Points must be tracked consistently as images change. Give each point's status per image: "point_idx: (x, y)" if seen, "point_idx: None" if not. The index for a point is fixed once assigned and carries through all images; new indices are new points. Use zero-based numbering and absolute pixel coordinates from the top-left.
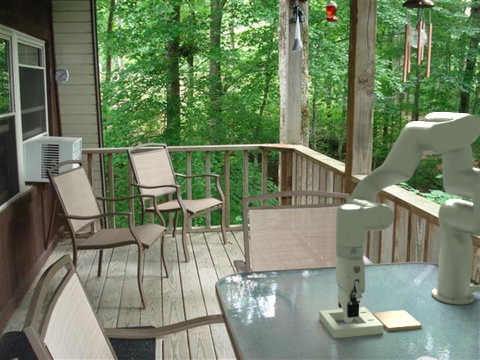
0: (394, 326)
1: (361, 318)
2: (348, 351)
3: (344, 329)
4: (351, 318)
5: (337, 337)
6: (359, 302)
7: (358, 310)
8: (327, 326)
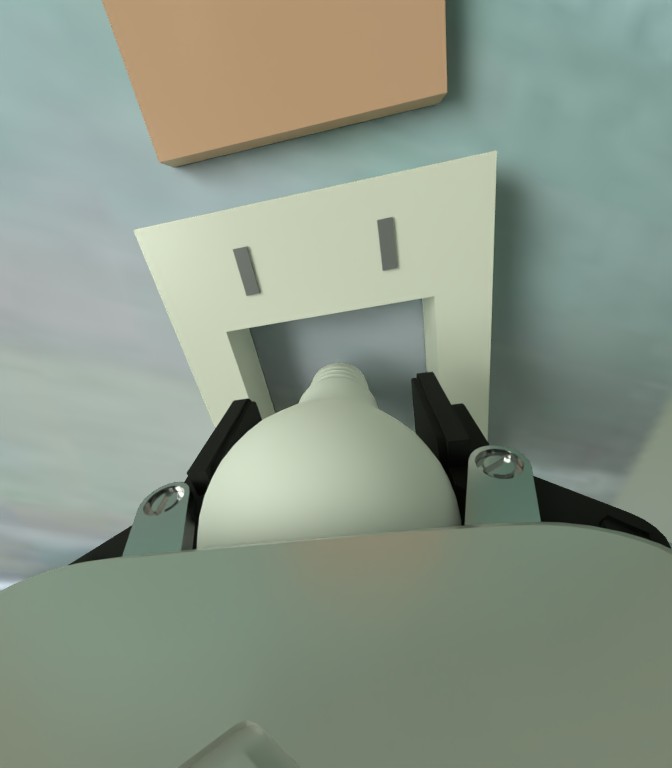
0: (427, 5)
1: (346, 310)
2: (614, 428)
3: None
4: (365, 386)
5: None
6: (529, 465)
7: (446, 399)
8: None
